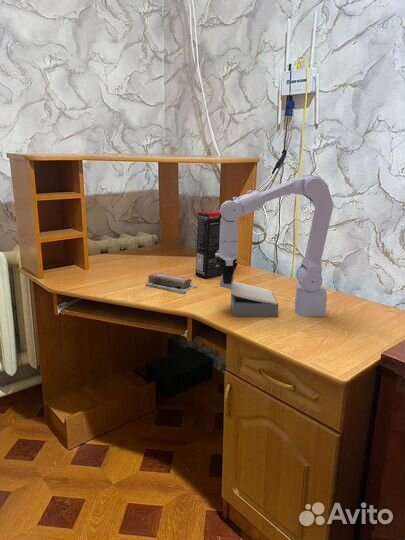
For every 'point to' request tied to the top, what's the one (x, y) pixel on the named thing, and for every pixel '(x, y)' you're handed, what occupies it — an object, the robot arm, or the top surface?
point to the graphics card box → (208, 244)
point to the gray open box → (252, 307)
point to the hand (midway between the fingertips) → (227, 282)
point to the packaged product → (170, 282)
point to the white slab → (249, 291)
